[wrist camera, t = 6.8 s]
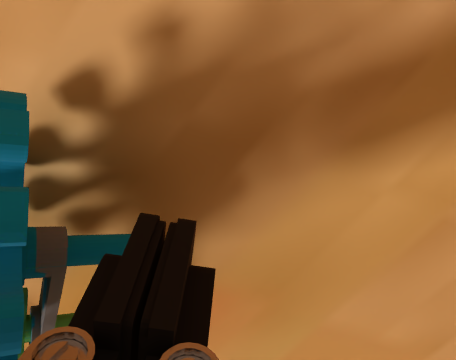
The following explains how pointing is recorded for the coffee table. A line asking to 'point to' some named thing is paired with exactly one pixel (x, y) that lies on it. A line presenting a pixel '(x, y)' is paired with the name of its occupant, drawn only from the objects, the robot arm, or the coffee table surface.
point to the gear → (33, 242)
